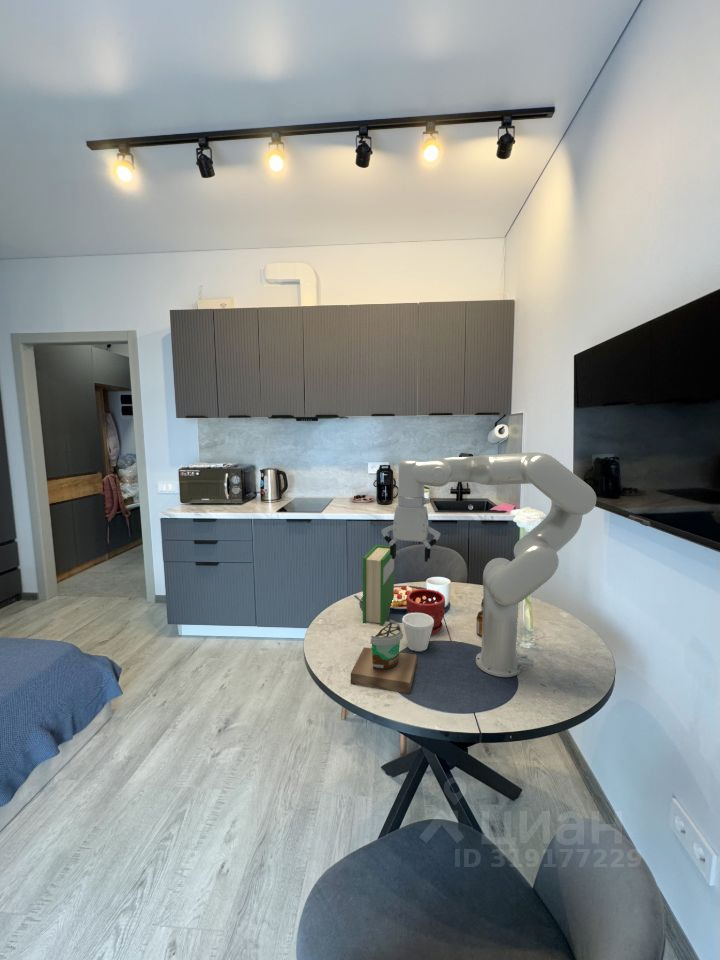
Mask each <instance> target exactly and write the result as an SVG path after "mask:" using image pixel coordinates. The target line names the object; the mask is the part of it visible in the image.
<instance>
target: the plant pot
mask: <svg viewBox="0 0 720 960" xmlns="http://www.w3.org/2000/svg"><path fill="white" fill-rule="evenodd" d="M423 597H425V598H423ZM418 598H419V599H420V601H419V602H417V601H416V599H418ZM425 602H426V603H425ZM406 611H407V614H409V613H424V614H427V615H429V616H431V617H432V618H433V620H434V625H433V628H432V632H431V635H434V634H437V633H439V632H440V631H441V630H443V625H444V624H443V619H444V616H445V611H446V597H445V595H444V594H443V593H442V592H439V590H438V591H437V590H434V589H428V588H420V589H414V590H412V591H409V592H408V593H407V596H406Z"/></svg>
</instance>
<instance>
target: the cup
mask: <svg viewBox="0 0 720 960" xmlns="http://www.w3.org/2000/svg"><path fill="white" fill-rule="evenodd" d="M401 623H402V625H403V628H404V632H405V633H404V634H405V639H406V643H407V647H408V649H409V650H411V651H413V652H417V653H420V652H422V653H423V652H425V651H426V650H428V646H429V642H430V638H431V635H432V634H431V632H432V628H433V625H434V620H433V618H432V617H431V616H429V615H427V614H424V613H409V614H408V613H406V614H405V615H403V616H402V618H401Z"/></svg>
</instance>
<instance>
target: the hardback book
mask: <svg viewBox="0 0 720 960" xmlns="http://www.w3.org/2000/svg"><path fill="white" fill-rule="evenodd" d="M394 588H395V559H392V555H390V545H380V544H375V545H374V546H373V547H372V548H371V549H370V550H369V551H368V552H367V553H366V555H364V556H363V557H362V624H364V623H365V624H366V623H367V622H371V623H378V624H380V625H379V626H381V627H383V626H384V625H385V624H386V621H387V620H388V618H387V617H389V616H388V615H390V614H391V612H390V606H391V603H392V600H393V598H394V595H395V594H394V593H395V591H394V590H395V589H394ZM389 613H390V614H389ZM366 621H367V622H366Z"/></svg>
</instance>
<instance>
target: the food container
mask: <svg viewBox="0 0 720 960" xmlns="http://www.w3.org/2000/svg"><path fill="white" fill-rule="evenodd" d="M403 637H404V633H403V630H402V627H401V625H400V623H399V622H397V621H395V620H392V619H389V623H388V624H387V625H386V626H385V627H383V628H380V630H379V632H378V633H376V635H371V637H370V644H371V648H372V660H373V669H375V670H390V669H393V668H395V667H396V666H397V665H398V658H399V652H400V646H401V640H402V639H403Z"/></svg>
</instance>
